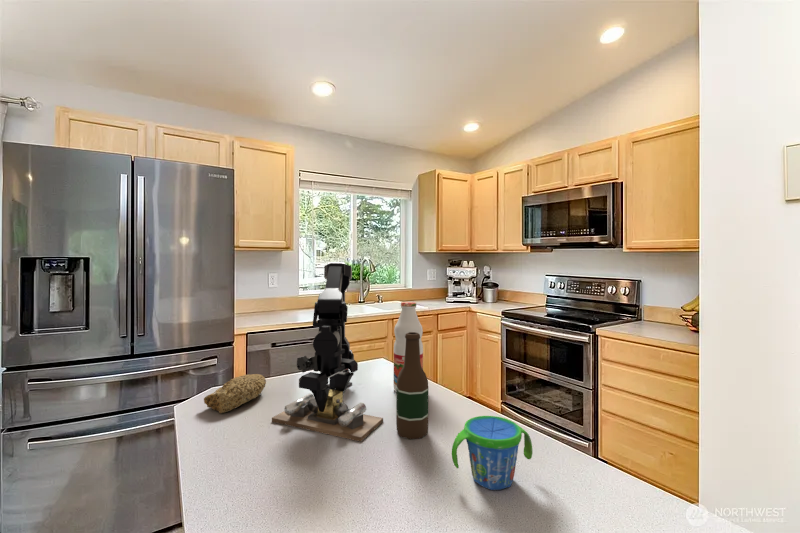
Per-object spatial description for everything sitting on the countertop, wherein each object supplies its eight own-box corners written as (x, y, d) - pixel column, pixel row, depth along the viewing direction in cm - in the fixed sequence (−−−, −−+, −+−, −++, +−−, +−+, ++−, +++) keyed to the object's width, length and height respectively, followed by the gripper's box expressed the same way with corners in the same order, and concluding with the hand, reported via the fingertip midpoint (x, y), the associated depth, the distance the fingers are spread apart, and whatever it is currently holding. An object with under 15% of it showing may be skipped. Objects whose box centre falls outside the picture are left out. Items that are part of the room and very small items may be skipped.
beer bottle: (426, 441, 86) (426, 337, 86) (392, 438, 88) (393, 335, 87) (430, 426, 94) (430, 330, 93) (399, 424, 95) (399, 329, 95)
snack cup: (458, 500, 65) (459, 442, 65) (445, 466, 76) (445, 416, 76) (545, 495, 67) (545, 438, 67) (520, 463, 77) (520, 413, 77)
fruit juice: (425, 386, 123) (426, 301, 123) (419, 396, 114) (419, 304, 114) (398, 383, 126) (398, 300, 125) (389, 393, 117) (389, 303, 116)
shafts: (306, 404, 103) (306, 391, 103) (366, 415, 96) (366, 401, 96) (284, 416, 95) (284, 402, 95) (347, 430, 88) (347, 414, 88)
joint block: (343, 414, 99) (343, 391, 98) (333, 421, 94) (333, 397, 94) (327, 411, 101) (327, 388, 101) (317, 417, 97) (317, 394, 96)
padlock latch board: (300, 405, 107) (300, 393, 107) (383, 421, 96) (383, 408, 96) (271, 421, 96) (271, 408, 96) (360, 441, 86) (361, 426, 86)
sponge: (229, 421, 99) (283, 384, 117) (220, 394, 98) (276, 360, 116) (199, 420, 106) (254, 385, 123) (190, 394, 105) (247, 362, 122)
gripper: (325, 336, 109) (325, 390, 109) (280, 351, 92) (280, 414, 92) (358, 340, 104) (358, 395, 105) (318, 355, 87) (318, 422, 88)
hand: (330, 406), depth 97 cm, fingers open, 7 cm apart
